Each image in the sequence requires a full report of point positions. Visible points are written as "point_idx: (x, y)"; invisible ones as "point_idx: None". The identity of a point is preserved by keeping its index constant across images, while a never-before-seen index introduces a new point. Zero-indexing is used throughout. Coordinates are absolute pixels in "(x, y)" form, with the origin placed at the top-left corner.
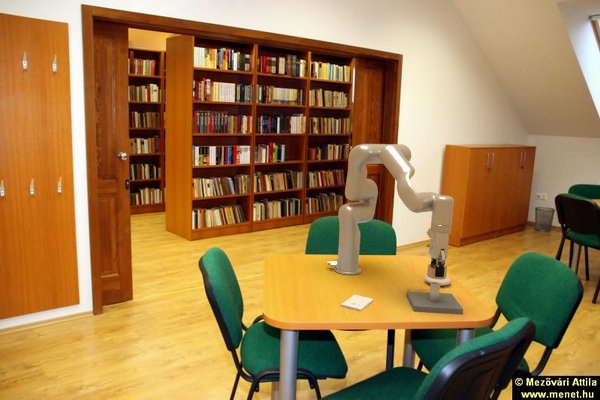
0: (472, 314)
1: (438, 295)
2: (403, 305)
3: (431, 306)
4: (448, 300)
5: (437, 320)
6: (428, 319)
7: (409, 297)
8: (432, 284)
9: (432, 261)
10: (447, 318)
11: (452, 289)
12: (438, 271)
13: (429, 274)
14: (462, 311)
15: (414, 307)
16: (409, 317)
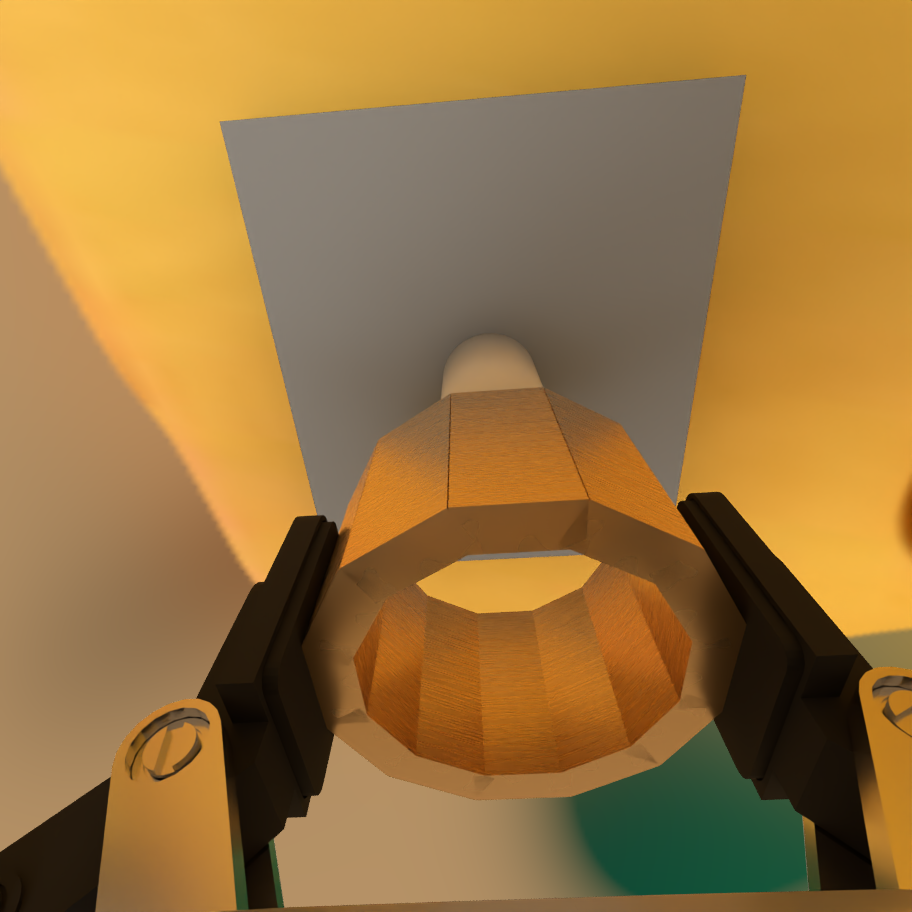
0: None
1: None
2: (385, 2)
3: (290, 328)
4: None
5: (123, 341)
6: (102, 261)
7: (526, 95)
8: None
9: (782, 668)
10: (208, 427)
11: (854, 566)
12: (230, 638)
13: (422, 433)
14: None
15: (225, 126)
16: (43, 44)
